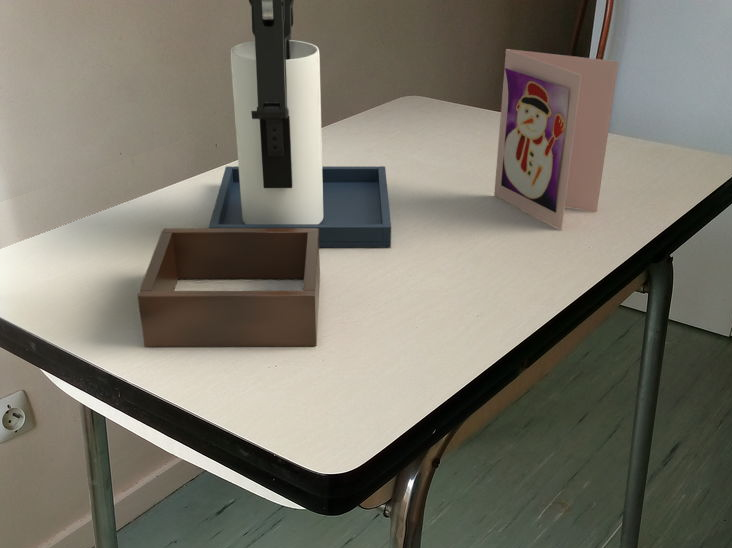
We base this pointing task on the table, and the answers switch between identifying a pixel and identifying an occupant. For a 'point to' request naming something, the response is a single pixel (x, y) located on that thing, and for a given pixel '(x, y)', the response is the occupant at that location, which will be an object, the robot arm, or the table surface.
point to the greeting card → (553, 132)
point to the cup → (304, 133)
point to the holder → (231, 308)
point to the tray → (326, 207)
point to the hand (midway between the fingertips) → (280, 170)
